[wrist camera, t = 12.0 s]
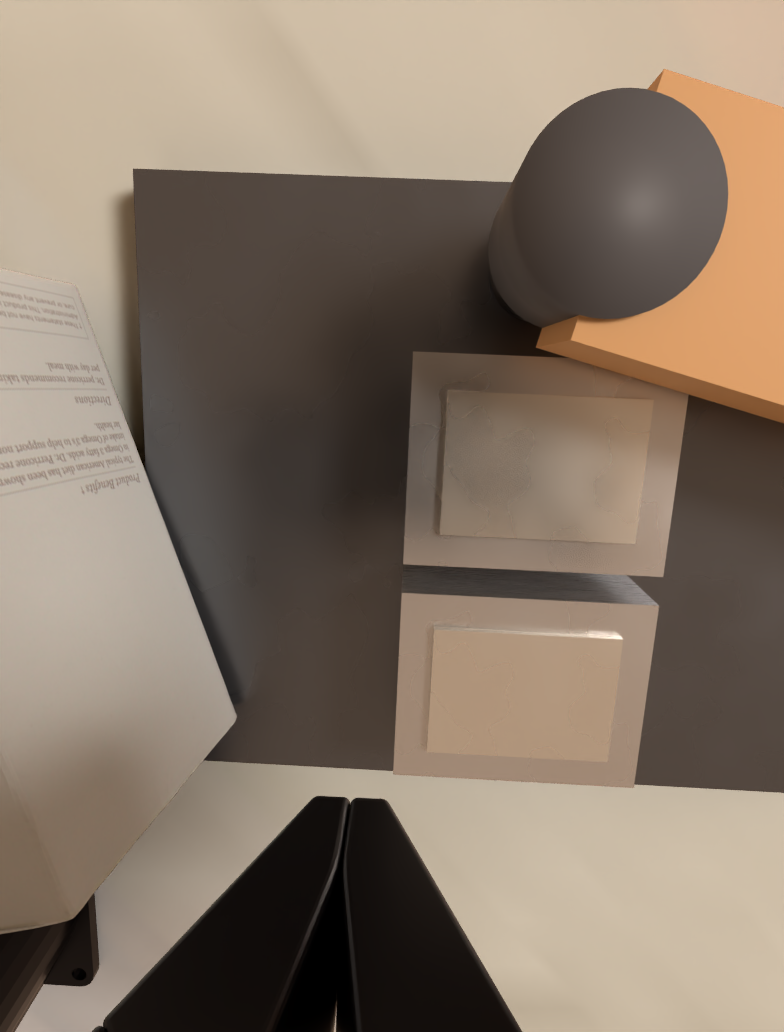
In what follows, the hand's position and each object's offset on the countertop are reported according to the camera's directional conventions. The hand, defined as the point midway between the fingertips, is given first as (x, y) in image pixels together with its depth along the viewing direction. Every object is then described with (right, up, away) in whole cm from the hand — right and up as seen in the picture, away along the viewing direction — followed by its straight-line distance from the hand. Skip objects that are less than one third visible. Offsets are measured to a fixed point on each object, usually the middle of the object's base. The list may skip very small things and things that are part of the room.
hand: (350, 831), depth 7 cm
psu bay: (+4, +4, +11) cm, 12 cm away
